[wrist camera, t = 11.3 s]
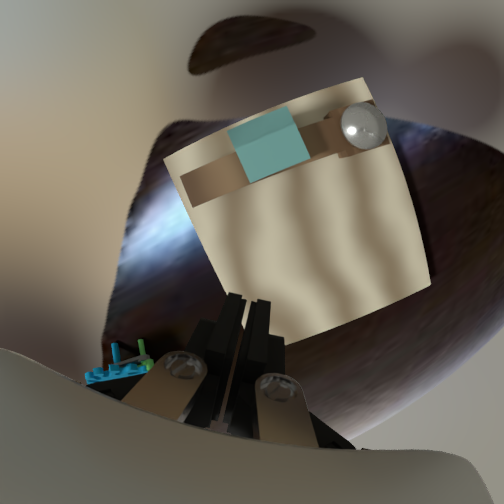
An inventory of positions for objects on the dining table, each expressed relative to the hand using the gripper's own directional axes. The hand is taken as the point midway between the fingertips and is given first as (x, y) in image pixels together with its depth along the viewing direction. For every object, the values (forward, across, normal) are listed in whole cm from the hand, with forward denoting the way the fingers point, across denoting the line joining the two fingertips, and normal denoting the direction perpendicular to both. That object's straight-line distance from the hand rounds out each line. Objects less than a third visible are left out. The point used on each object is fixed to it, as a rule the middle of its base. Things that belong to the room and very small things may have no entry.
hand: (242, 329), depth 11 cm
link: (+18, 0, -8) cm, 20 cm away
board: (+20, -4, -2) cm, 20 cm away
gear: (+20, +14, +22) cm, 33 cm away
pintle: (+19, -6, -12) cm, 23 cm away
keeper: (+18, +1, -8) cm, 20 cm away
